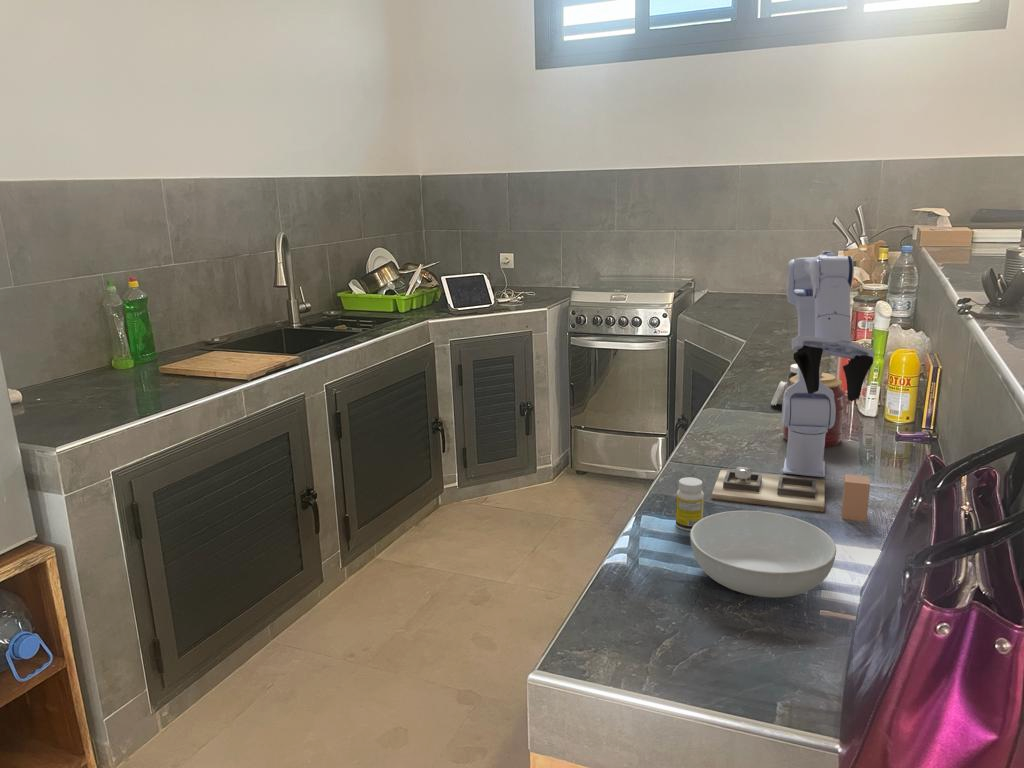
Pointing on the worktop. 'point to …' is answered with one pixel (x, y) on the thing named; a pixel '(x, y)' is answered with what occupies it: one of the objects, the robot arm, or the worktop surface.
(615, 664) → the worktop surface
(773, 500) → the board
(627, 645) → the worktop surface
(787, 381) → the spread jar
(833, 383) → the canister
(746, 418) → the worktop surface
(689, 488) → the supplement bottle
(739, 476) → the pin
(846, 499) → the tan tall block
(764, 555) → the serving bowl
